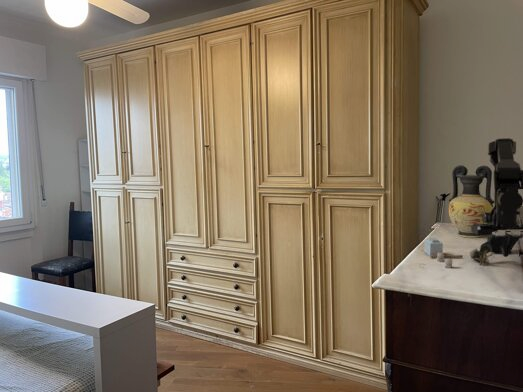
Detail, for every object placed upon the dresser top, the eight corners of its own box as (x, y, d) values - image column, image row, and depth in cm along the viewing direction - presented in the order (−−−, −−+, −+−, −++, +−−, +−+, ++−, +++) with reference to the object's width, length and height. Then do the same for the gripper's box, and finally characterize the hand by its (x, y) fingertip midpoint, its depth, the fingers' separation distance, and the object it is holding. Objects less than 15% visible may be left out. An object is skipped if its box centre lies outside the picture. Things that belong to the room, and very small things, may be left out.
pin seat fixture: (455, 253, 143) (455, 246, 143) (477, 268, 124) (477, 260, 124) (425, 253, 144) (425, 246, 144) (442, 268, 125) (442, 260, 125)
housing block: (436, 251, 145) (436, 237, 144) (442, 256, 138) (442, 241, 138) (424, 251, 145) (424, 237, 145) (430, 256, 139) (430, 240, 138)
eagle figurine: (501, 263, 125) (498, 252, 133) (487, 244, 125) (485, 234, 133) (477, 274, 128) (475, 262, 136) (464, 255, 129) (463, 244, 136)
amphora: (494, 234, 176) (496, 164, 173) (492, 241, 162) (494, 165, 159) (450, 231, 186) (451, 165, 183) (444, 237, 171) (445, 166, 169)
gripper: (525, 203, 133) (523, 250, 134) (465, 204, 135) (464, 250, 136) (545, 208, 122) (542, 259, 123) (479, 208, 124) (477, 258, 125)
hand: (505, 256), depth 127 cm, fingers closed
